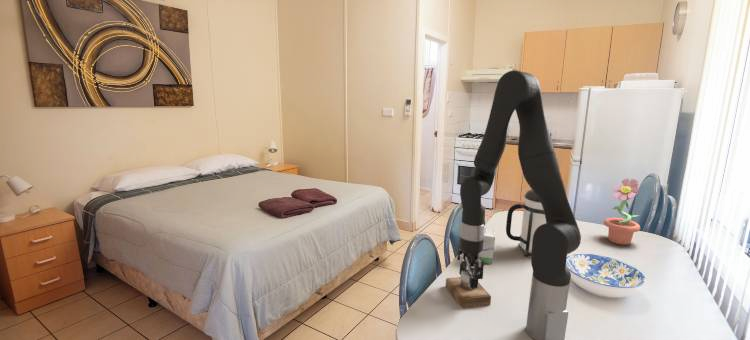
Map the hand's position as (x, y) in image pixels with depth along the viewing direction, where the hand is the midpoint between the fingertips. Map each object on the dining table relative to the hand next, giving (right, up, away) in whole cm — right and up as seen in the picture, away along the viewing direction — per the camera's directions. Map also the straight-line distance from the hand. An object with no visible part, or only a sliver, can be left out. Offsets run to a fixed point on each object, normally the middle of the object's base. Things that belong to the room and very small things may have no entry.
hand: (468, 281), depth 119 cm
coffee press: (+36, +1, +35) cm, 50 cm away
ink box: (+14, 0, +28) cm, 31 cm away
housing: (0, -2, 0) cm, 2 cm away
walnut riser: (0, -5, +1) cm, 5 cm away
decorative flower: (+82, +3, +48) cm, 96 cm away
